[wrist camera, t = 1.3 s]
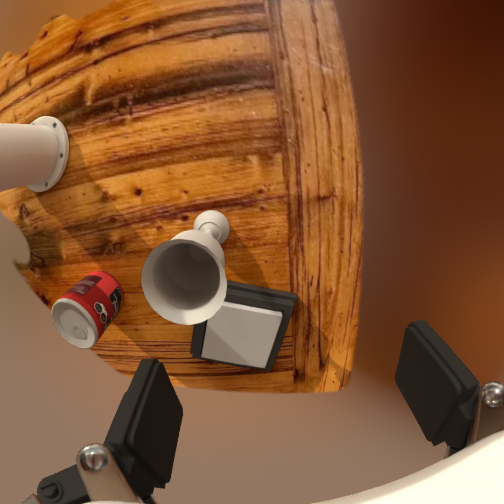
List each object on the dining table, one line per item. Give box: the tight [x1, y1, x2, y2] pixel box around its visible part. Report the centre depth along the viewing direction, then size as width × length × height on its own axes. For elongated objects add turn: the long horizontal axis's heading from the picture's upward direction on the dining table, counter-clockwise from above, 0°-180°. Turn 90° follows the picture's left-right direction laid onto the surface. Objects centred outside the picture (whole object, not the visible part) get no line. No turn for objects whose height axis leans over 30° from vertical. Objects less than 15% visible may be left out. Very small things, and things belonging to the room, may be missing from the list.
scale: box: [190, 280, 297, 371], centre depth 41 cm, size 14×14×3 cm
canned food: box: [51, 271, 124, 349], centre depth 35 cm, size 8×8×11 cm
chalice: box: [142, 210, 230, 325], centre depth 29 cm, size 7×7×18 cm
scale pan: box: [202, 300, 282, 368], centre depth 39 cm, size 10×10×2 cm
